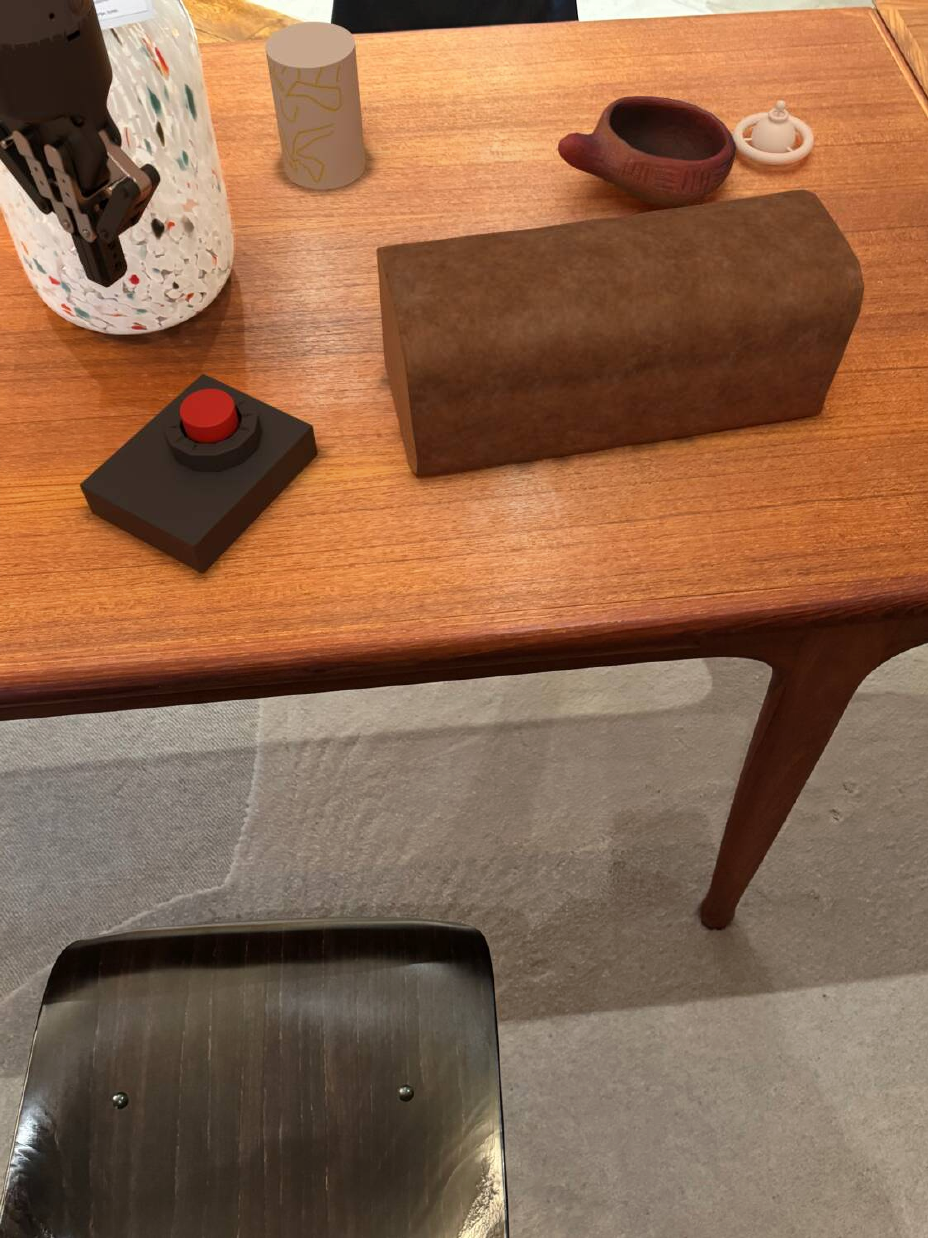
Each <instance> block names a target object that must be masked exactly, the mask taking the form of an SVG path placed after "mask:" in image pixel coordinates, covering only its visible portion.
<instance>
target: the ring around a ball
mask: <svg viewBox="0 0 928 1238" xmlns="http://www.w3.org/2000/svg"><path fill="white" fill-rule="evenodd" d="M786 107H787V104H786V102H785V100H782V99H780V100H777V102H776V103H775V106H774V107H773V108H771V109H770V110H768V111H767V112H766V111H763V112H758V113H753V114H750V115H748V116H746V117H744V118H742V119H740V120H739V121H738V122H737V123H736V125H735V126H734V127H733V130H732V132H731V134H732V137H733V140H734V141H735V142H736V151H738V152H739V154H740V155H742V156H743V157H745V158H746V159H748V160H750V161H752V162H755V163H758V164H763V165H768V166H769V165H770V166H783V165H789V164H793V163H796V162H799V161H800V160H801V161H802V159H804V158H806V157H807V156H808V155H809V154H810V153H811V151H812V150H813V148H814V144H815V135H814V132H813V131H812V129H811V127H810V126H809V125H808V124H807V123H805V121H803V120H802V119H799V118H798V117H796V116H793V115H790V113H789V112H788V110H786ZM752 127H753V129H752V132H751V134H750V137H746V138H745V137H744V133H745V132H746V131H747V130H748V129H751V128H752ZM797 134H798V135H800V137H801V138H802V144H801V146H799V147H797V148H796V149H793V148H794V146H795V143H796V139H797V138H796V137H797V136H796V135H797ZM748 142H750V145H749V143H748Z"/></svg>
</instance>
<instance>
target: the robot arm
mask: <svg viewBox="0 0 928 1238" xmlns="http://www.w3.org/2000/svg"><path fill="white" fill-rule="evenodd" d="M113 77H114V74H113V67H112V64H111V60H110V56H109V52H108V48H107V45H106V42H105V38H104V35H103V30H102V27H101V24H100V19H99V16H98V12H97V9H96V4H95V0H0V161H1V162H2V164H3V165H4V167H5V168H6V169H7V170H8V172H9V173H10V174H11V176H12V177H13V178H14V179H15V181H16V182H17V183H18V184H19V186H20V187H21V188H22V189H23V191H24V192H25V194H26V195H27V196H28V197H29V199H30V200H31V201H32V203H33V204H34V205H35V206H36V208H37V209H38V210H39V212H41V213H42V214H44V215H50V214H51V213H53V214H54V215H56V217H57V220H58V222H59V225H60V226H61V228H62V229H63V230H64V231H66V232H67V233H68V234H70V236H71V239H72V242H73V245H74V248H75V251H76V253H77V257H78V259H79V262H80V264H81V266H82V267H83V268H82V269H83V271H84V273H85V276H86V278H87V280H89V281H91V282H93V283H95V284H97V285H99V286H101V287H103V288H107V289H108V288H110V287H111V286H113V285H114V284H115V283H117V282H118V281H120V279H122V278H123V277H124V276H125V275H126V273H127V272H128V263H127V259H126V256H125V253H124V250H123V246H122V243H121V239H120V236H121V235H122V234H124V233H125V232H126V231H127V230H129V229H130V228H133V227H134V226H136V225H137V224H138V223H139V222H140V221H141V218H142V217H143V215H144V214H145V212H146V209H147V207H148V206H149V203H150V201H151V200H152V198H153V196H154V194H155V192H156V191H157V188H158V187H159V185H160V183H161V180H162V179H161V175H160V173H159V170H158V169H157V168H156V167H155V166H154V165H152V164H151V163H146V164H143V165H142V166H140V167H139V166H138V165H137V164H136V163H135V162H134V161H133V159H132V158H131V157H130V156H129V155H128V154H127V153H126V152H125V151H124V150H123V149H122V145H123V139H122V133H121V132H120V129H119V127H118V126H117V124H116V123H115V121H114V119H113V117H112V115H111V113H110V111H109V109H108V98H109V93H110V89H111V86H112V83H113V79H114V78H113Z"/></svg>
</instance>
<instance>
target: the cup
mask: <svg viewBox="0 0 928 1238" xmlns="http://www.w3.org/2000/svg"><path fill="white" fill-rule="evenodd" d="M264 46H265V47H264V49H265V54H266V61H267V68H268V73H269V74H268V75H269V81H270V87H271V92H272V99H273V105H274V110H275V119H276V125H277V128H278V137H279V142H280V148H281V155H282V161H283V168H284V172H285V175H286V176H287V178H288V179H289V180H290V181H291V182H292V183H294V184H296V185H297V186H299V187H302V188H306V189H309V190H317V191H318V190H319V191H327V190H334V189H335V190H336V189H339V188H343V187H346V186H348V185H350V184H352V183H354V182H355V181H357V180H358V179H359V178H360V177H361V176H362V175H363V174H364V172H365V170H366V167H367V160H366V151H365V150H366V149H365V140H364V139H365V138H364V128H363V127H364V126H363V117H362V106H361V94H360V93H361V92H360V84H359V83H360V82H359V73H358V60H357V50H356V40H355V37H354V35H353V34H352V33H351V32H350V31H349V30H348V29H346V28H344V27H343V26H341V25H337V24H335V23H329V22H324V21H305V22H299V23H294V24H290V25H287V26H283V27H282V28H280V29H278V30H276V31H275V32H274V33H272V34H271V35H270V36H269V37H268V39H267V40H266V42H265V45H264Z"/></svg>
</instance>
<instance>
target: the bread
mask: <svg viewBox="0 0 928 1238" xmlns="http://www.w3.org/2000/svg"><path fill="white" fill-rule="evenodd" d="M375 253H376V262H377V273H378V275H377V276H378V290H379V303H380V317H381V331H382V333H381V334H382V347H383V357H384V358H383V359H384V367H385V371H386V375H387V380H388V383H389V387H390V391H391V395H392V400H393V403H394V408H395V412H396V416H397V420H398V424H399V428H400V433H401V437H402V442H403V446H404V452H405V455H406V459H407V463H408V466H409V467H410V469H411V470H412V472H413V473H414V474H415V475H416V477H418V478H425V477H433V476H439V475H447V474H455V473H461V472H468V471H474V470H480V469H486V468H492V467H498V466H503V465H509V464H514V463H522V462H527V461H535V460H542V459H550V458H556V457H563V456H569V455H575V454H584V453H589V452H595V451H600V450H606V449H611V448H616V447H621V446H630V445H637V444H646V443H652V442H658V441H664V440H665V441H666V440H671V439H677V438H682V437H689V436H694V435H700V434H706V433H711V432H718V431H725V430H729V429H734V428H741V427H748V426H755V425H763V424H768V423H776V422H780V421H781V422H782V421H786V420H792V419H798V418H803V417H808V416H812V415H818V414H821V413H822V412H823V410H824V407H825V403H826V400H827V399H826V398H827V396H828V393H829V391H830V388H831V386H832V384H833V381H834V379H835V376H836V375H837V372H838V369H839V367H840V365H841V362H842V360H843V358H844V356H845V352H846V350H847V346H848V344H849V341H850V338H851V335H852V333H853V331H854V328H855V327H856V324H857V322H858V319H859V318H860V314H861V311H862V304H863V298H864V293H865V284H864V283H865V282H864V279H863V278H864V277H863V273H862V268H861V263H860V261H859V259H858V257H857V255H856V253H855V252H854V250H853V249H852V246H851V245H850V243H849V241H848V240H847V238H846V237H845V234H843V232H842V230H841V229H840V227H839V226H838V224H837V222H836V221H835V220H834V218H833V217H832V216H831V213H830V212H829V211H828V210H827V208H826V206H825V205H824V203H822V201H821V200H820V198H819V196H818V195H817V194H816V193H814V192H812V191H809V190H807V189H794V190H786V191H781V192H776V193H770V194H764V195H756V196H750V197H742V198H736V199H728V200H727V199H726V200H721V201H714V202H713V201H712V202H708V203H702V204H701V203H700V204H696V205H689V206H681V207H672V208H666V209H659V210H658V209H657V210H652V211H646V212H641V213H636V214H635V213H634V214H630V215H624V216H613V217H603V218H602V217H601V218H593V219H592V218H591V219H585V220H579V221H573V222H566V223H561V224H559V223H558V224H554V225H553V224H552V225H547V226H541V227H535V228H527V229H525V228H524V229H515V230H505V231H498V232H497V231H495V232H489V233H488V232H487V233H478V234H470V235H463V236H462V235H461V236H455V237H449V238H442V239H441V238H440V239H432V240H425V241H415V242H407V243H406V242H405V243H399V244H390V245H384V246H379V247H377V248H376V251H375Z"/></svg>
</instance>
